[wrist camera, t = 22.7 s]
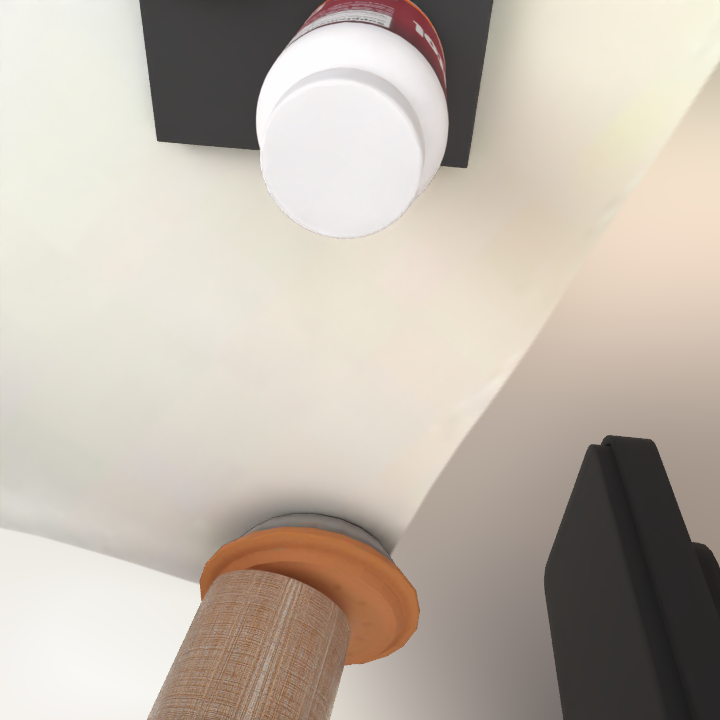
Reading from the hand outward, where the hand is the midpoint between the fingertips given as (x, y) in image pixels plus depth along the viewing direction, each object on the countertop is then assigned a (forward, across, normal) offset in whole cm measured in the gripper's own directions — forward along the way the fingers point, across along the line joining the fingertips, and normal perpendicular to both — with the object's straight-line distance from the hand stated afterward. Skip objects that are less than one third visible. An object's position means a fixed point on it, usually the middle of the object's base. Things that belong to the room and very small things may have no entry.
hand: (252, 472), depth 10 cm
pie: (+24, +2, +35) cm, 43 cm away
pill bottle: (+23, 0, 0) cm, 23 cm away
